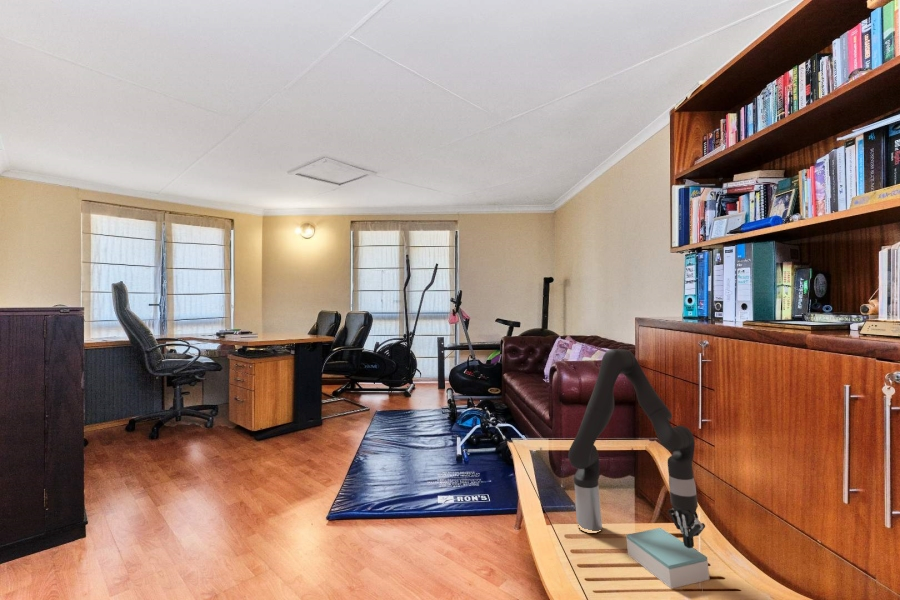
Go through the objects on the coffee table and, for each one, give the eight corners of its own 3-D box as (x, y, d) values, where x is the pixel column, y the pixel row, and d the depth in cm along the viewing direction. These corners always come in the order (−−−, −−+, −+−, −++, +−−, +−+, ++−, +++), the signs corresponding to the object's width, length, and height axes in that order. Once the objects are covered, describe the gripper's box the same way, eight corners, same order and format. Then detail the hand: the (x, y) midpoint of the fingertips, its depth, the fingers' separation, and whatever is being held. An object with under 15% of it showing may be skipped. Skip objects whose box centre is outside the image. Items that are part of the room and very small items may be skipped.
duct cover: (626, 537, 138) (626, 534, 138) (660, 530, 141) (660, 527, 141) (669, 569, 119) (668, 565, 119) (707, 560, 122) (707, 556, 123)
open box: (628, 554, 138) (626, 538, 138) (662, 547, 141) (660, 531, 141) (671, 588, 119) (669, 569, 119) (709, 579, 122) (707, 560, 122)
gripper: (709, 496, 122) (716, 555, 120) (676, 481, 134) (682, 534, 133) (689, 500, 120) (696, 560, 118) (657, 485, 133) (663, 538, 131)
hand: (688, 546), depth 126 cm, fingers closed
